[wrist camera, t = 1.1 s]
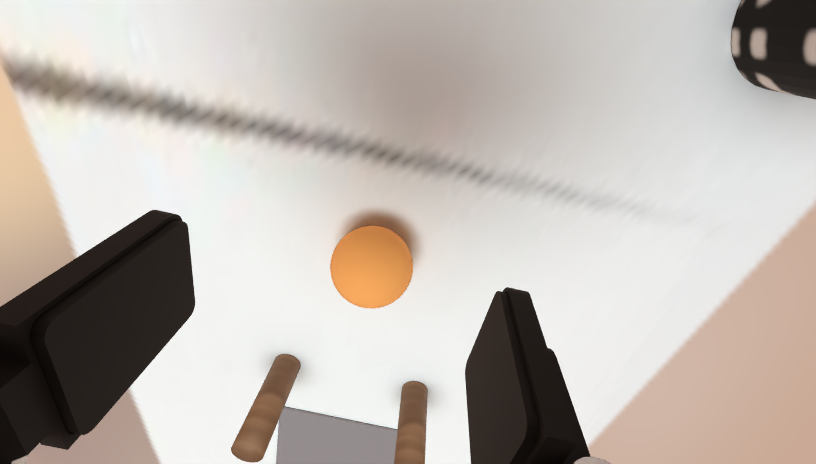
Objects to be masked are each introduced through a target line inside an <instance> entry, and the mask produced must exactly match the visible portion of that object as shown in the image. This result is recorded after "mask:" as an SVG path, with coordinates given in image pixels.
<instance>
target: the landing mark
mask: <svg viewBox="0 0 816 464" xmlns="http://www.w3.org/2000/svg"><path fill="white" fill-rule="evenodd" d="M396 439H397V430H395V429H390V428H386V427H381V426H376V425H371V424H366V423H361V422H356V421H352V420H347V419H342V418H337V417H332V416H327V415H322V414H317V413H313V412H308V411H303V410H298V409H293V408H288V407H284V408H283V410H282V413H281V415H280V418H279V428H278V444H277V459H276V464H394V458H395V449H396Z"/></svg>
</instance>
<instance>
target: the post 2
mask: <svg viewBox="0 0 816 464" xmlns="http://www.w3.org/2000/svg"><path fill="white" fill-rule="evenodd" d="M426 416H427V387H426V386H425V385H424V384H422V383H420V382H415V381H412V382H408V383H406V384H404V385H403V387H402V393H401V403H400V412H399V421H398V430H397V439H396V449H395V458H394V464H425V442H426Z"/></svg>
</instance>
